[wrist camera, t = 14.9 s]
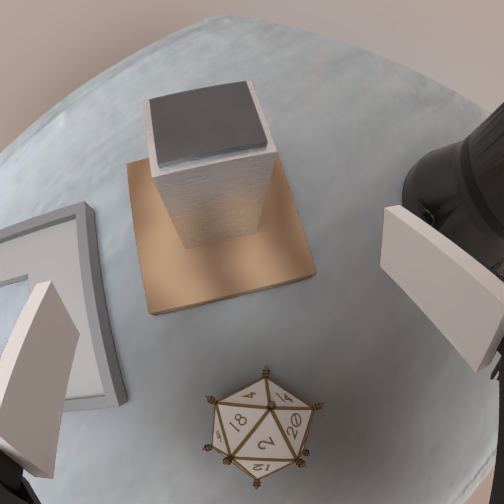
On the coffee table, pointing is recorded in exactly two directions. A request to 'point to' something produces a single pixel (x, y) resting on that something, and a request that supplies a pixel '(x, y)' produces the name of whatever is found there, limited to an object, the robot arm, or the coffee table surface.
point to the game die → (261, 428)
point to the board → (215, 249)
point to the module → (210, 160)
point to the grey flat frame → (70, 295)
